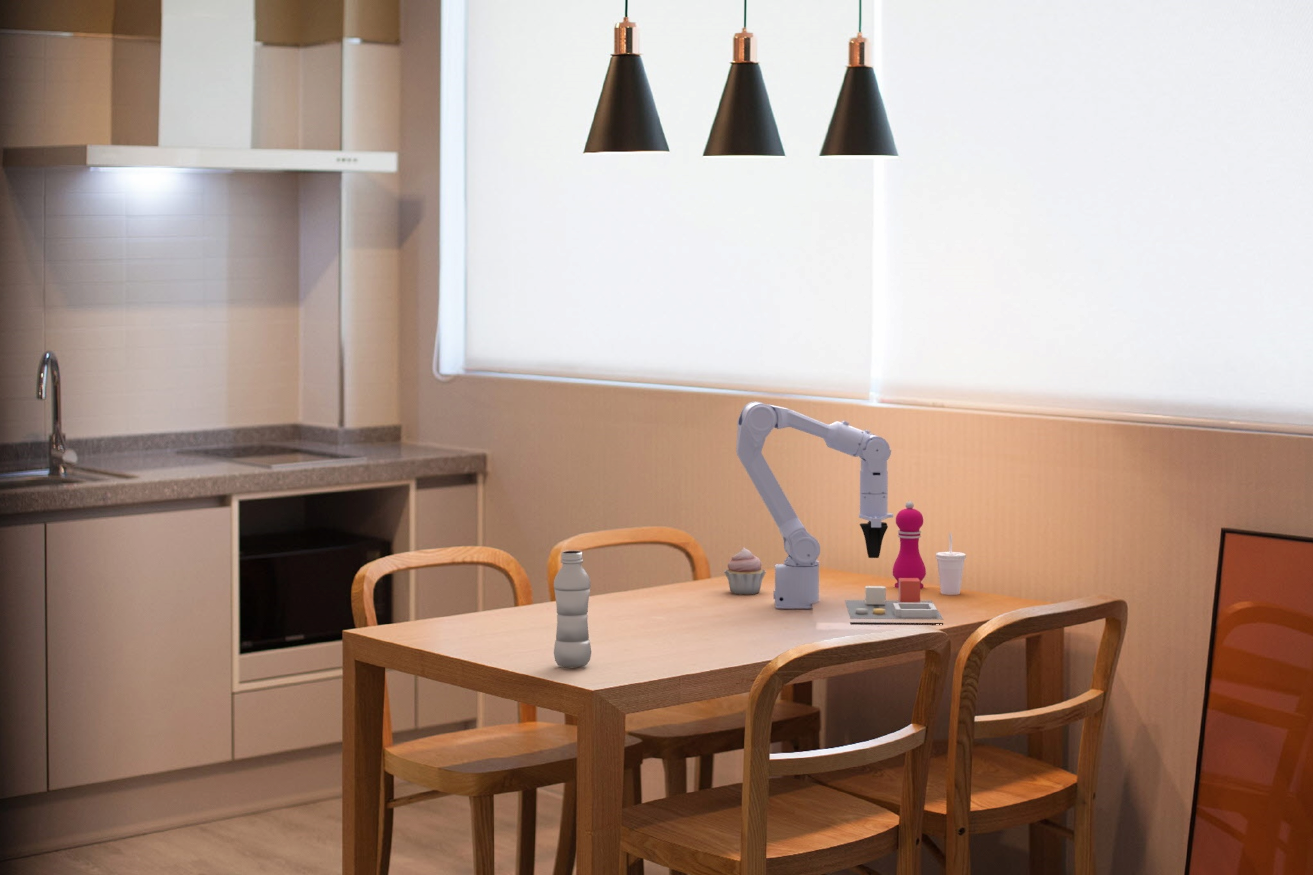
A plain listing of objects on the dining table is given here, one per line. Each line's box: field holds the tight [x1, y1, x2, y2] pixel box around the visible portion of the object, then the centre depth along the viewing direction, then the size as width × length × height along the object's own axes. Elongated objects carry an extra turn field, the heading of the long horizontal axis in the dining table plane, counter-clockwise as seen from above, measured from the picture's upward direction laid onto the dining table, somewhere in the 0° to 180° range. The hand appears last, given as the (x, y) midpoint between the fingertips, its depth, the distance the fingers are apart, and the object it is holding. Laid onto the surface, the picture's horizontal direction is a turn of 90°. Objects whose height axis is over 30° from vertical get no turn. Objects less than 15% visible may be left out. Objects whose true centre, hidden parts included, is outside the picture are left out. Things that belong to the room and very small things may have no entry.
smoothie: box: [935, 532, 967, 596], centre depth 329 cm, size 6×6×14 cm
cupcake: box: [723, 546, 767, 595], centre depth 338 cm, size 9×9×10 cm
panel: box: [844, 599, 944, 626], centre depth 311 cm, size 18×20×3 cm
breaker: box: [864, 585, 887, 605], centre depth 317 cm, size 4×2×3 cm, turn 86°
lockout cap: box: [898, 578, 921, 603], centre depth 317 cm, size 4×4×5 cm
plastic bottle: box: [553, 550, 592, 668], centre depth 265 cm, size 6×7×20 cm
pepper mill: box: [892, 500, 927, 589], centre depth 337 cm, size 7×7×20 cm
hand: (873, 557), depth 322 cm, fingers closed
